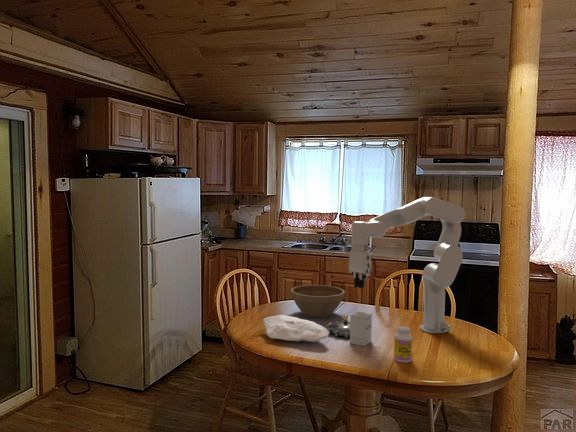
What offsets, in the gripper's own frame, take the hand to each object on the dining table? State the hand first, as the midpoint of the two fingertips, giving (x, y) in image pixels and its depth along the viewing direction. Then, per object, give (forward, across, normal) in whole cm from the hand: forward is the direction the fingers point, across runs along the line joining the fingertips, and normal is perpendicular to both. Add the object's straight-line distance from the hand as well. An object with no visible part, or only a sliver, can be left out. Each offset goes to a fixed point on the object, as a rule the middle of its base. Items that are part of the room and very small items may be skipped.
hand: (359, 287), depth 219 cm
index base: (+21, +8, +5) cm, 23 cm away
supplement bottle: (+21, -34, +15) cm, 43 cm away
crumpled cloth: (+21, +13, +27) cm, 37 cm away
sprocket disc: (+21, +3, +6) cm, 22 cm away
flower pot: (+21, +33, -7) cm, 40 cm away
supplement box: (+21, -10, +11) cm, 26 cm away
